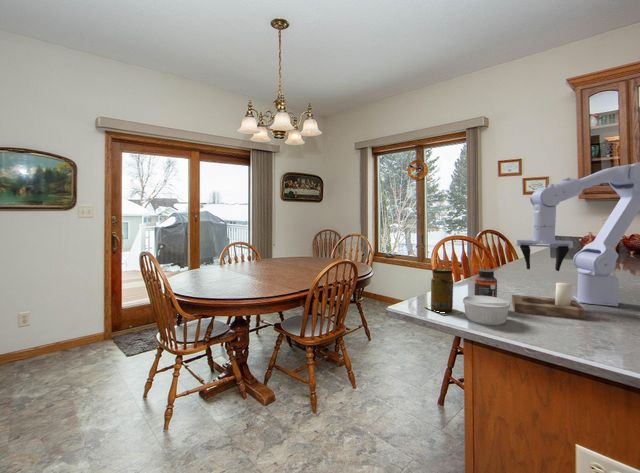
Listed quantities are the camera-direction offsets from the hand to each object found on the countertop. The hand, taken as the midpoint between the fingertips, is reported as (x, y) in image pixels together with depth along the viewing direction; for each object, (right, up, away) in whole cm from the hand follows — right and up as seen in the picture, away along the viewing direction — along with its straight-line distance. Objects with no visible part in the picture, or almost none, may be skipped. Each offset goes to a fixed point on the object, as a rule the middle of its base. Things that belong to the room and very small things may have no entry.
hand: (542, 269), depth 103 cm
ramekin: (-26, -12, -16) cm, 33 cm away
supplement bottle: (-21, -11, -6) cm, 24 cm away
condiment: (-34, -11, -8) cm, 37 cm away
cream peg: (-1, -11, -10) cm, 15 cm away
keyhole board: (-5, -11, -8) cm, 15 cm away
